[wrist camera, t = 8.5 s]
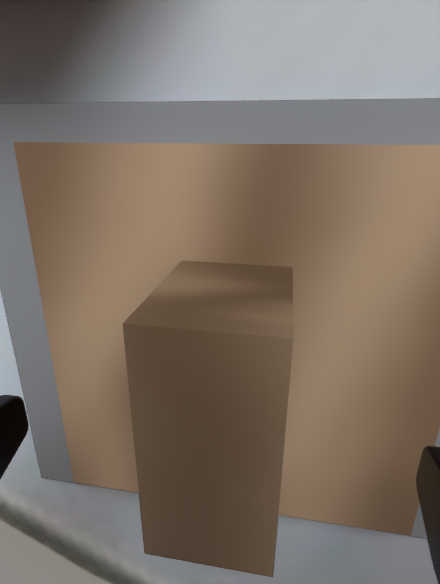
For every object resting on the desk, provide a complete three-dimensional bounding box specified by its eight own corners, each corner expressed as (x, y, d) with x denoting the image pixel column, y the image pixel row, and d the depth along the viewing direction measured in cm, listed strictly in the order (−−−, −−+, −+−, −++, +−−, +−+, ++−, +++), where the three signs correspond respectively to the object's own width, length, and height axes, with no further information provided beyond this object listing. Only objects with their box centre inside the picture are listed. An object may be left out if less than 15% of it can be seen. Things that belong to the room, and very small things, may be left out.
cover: (497, 145, 9) (698, 145, 5) (404, 514, 13) (460, 698, 9) (32, 142, 11) (-146, 141, 6) (84, 466, 15) (-1, 597, 11)
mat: (594, 98, 9) (608, 96, 8) (453, 532, 14) (458, 543, 13) (-29, 105, 11) (-41, 104, 11) (47, 470, 16) (41, 478, 16)
